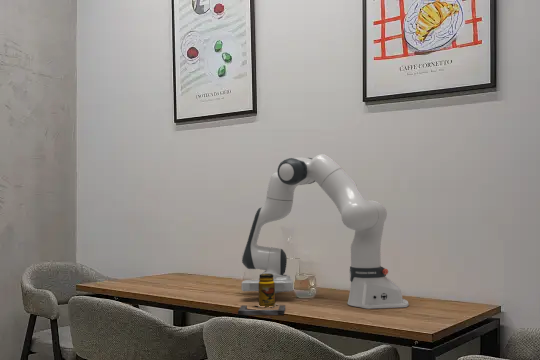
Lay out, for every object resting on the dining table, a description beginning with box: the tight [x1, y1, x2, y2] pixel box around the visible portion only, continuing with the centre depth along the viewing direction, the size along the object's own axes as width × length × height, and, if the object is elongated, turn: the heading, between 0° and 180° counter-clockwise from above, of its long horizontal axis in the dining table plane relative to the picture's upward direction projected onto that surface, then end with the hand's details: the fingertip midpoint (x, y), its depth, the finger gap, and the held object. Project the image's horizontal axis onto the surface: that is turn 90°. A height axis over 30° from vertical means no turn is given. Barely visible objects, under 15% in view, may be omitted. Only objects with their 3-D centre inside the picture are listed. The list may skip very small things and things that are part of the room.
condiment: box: [258, 273, 276, 307], centre depth 234 cm, size 7×8×12 cm
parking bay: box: [237, 304, 286, 316], centre depth 222 cm, size 16×10×2 cm, turn 85°
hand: (265, 288), depth 237 cm, fingers closed
